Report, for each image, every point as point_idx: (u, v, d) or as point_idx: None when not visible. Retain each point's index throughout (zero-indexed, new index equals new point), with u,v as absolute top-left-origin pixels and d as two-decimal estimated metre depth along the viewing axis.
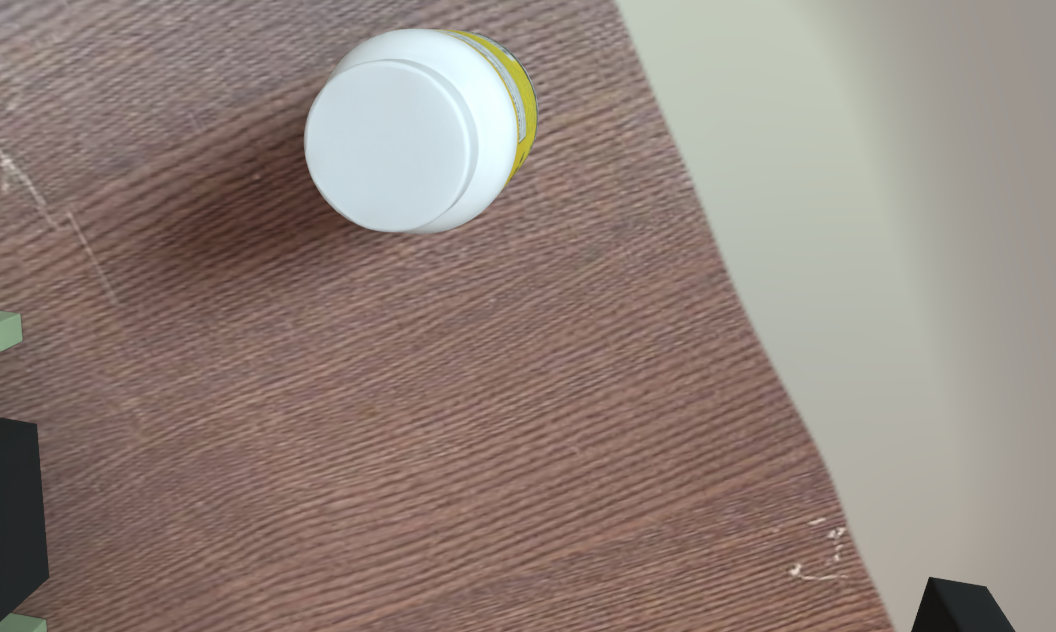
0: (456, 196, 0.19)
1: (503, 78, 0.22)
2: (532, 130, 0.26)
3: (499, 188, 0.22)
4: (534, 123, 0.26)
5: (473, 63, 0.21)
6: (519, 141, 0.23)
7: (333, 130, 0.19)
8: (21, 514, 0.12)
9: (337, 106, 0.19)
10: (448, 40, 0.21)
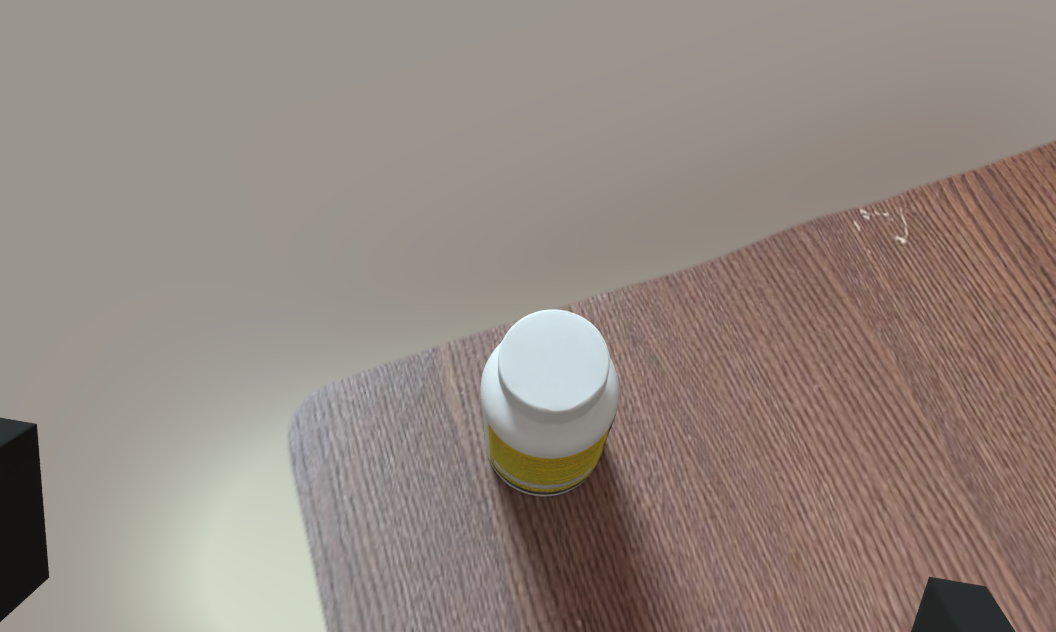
0: (588, 321, 0.30)
1: None
2: None
3: None
4: None
5: None
6: None
7: (538, 389, 0.29)
8: (21, 514, 0.12)
9: (523, 384, 0.29)
10: (492, 353, 0.32)
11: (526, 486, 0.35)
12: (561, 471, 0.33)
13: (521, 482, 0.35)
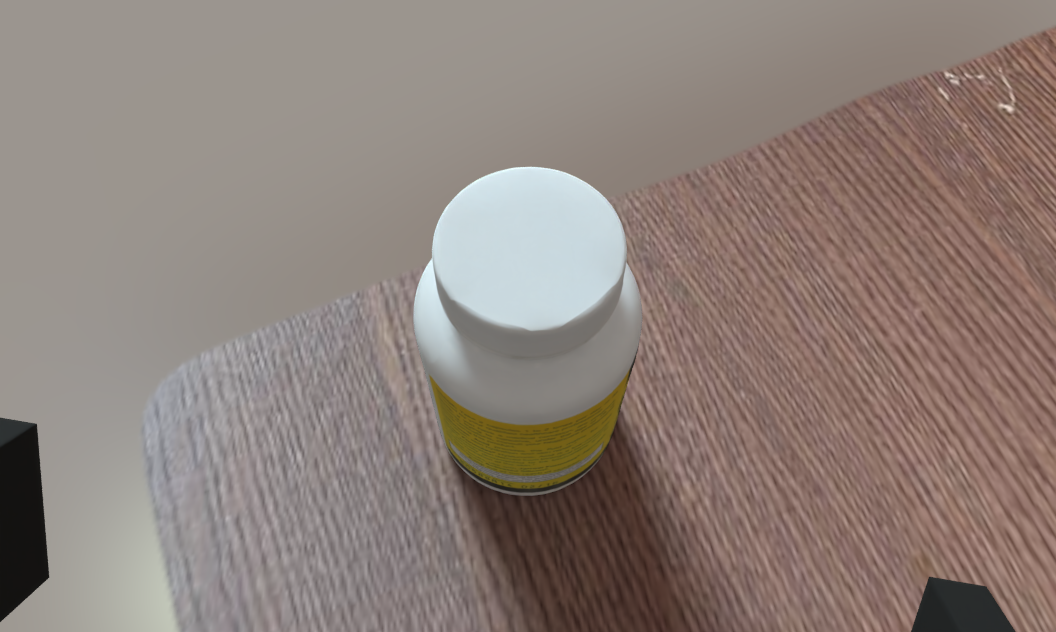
0: (583, 182, 0.18)
1: None
2: None
3: None
4: None
5: None
6: None
7: (505, 295, 0.16)
8: (21, 514, 0.12)
9: (478, 288, 0.16)
10: None
11: (503, 480, 0.23)
12: (555, 449, 0.20)
13: (494, 474, 0.22)
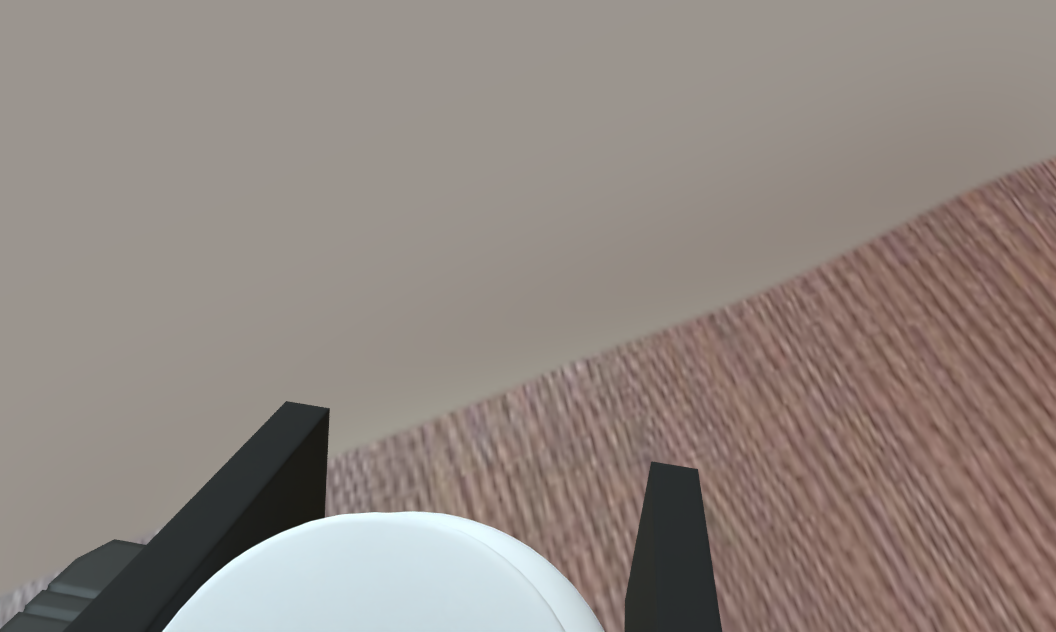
0: (498, 555, 0.07)
1: None
2: None
3: (529, 547, 0.10)
4: None
5: None
6: None
7: None
8: (316, 488, 0.14)
9: None
10: None
11: None
12: None
13: None
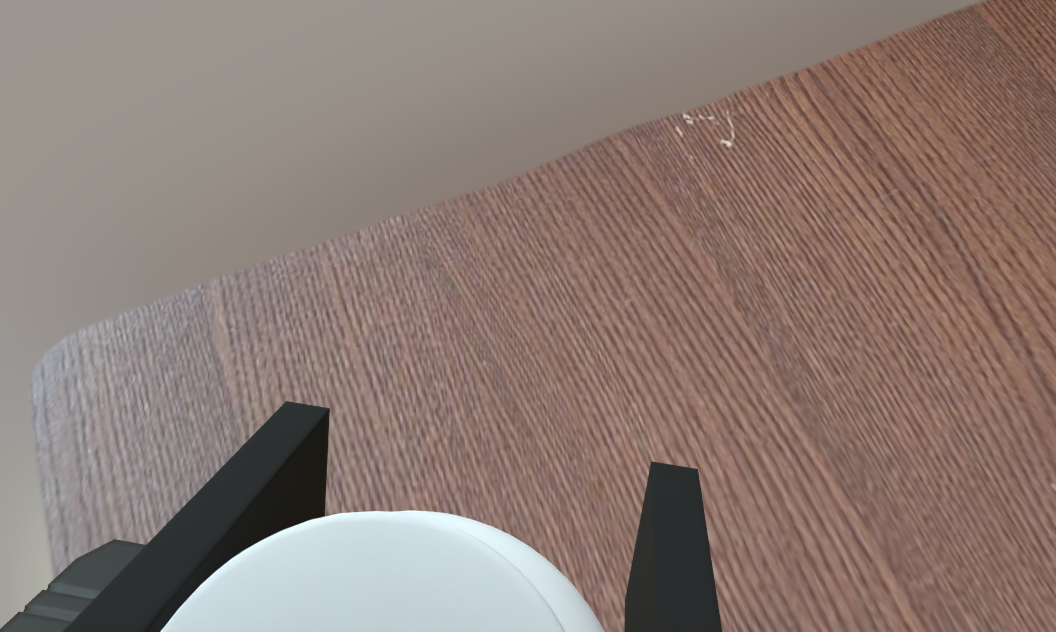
0: (497, 554, 0.07)
1: None
2: None
3: (528, 547, 0.10)
4: None
5: None
6: None
7: None
8: (316, 488, 0.14)
9: None
10: None
11: None
12: None
13: None
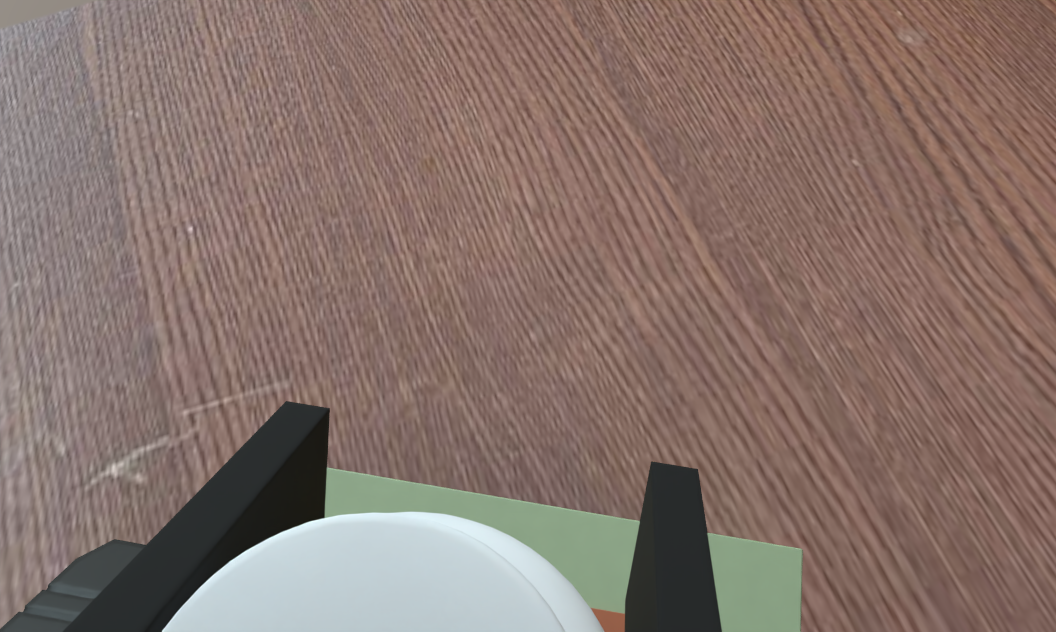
0: (498, 555, 0.07)
1: None
2: None
3: (529, 548, 0.10)
4: None
5: None
6: None
7: None
8: (316, 488, 0.14)
9: None
10: None
11: None
12: None
13: None
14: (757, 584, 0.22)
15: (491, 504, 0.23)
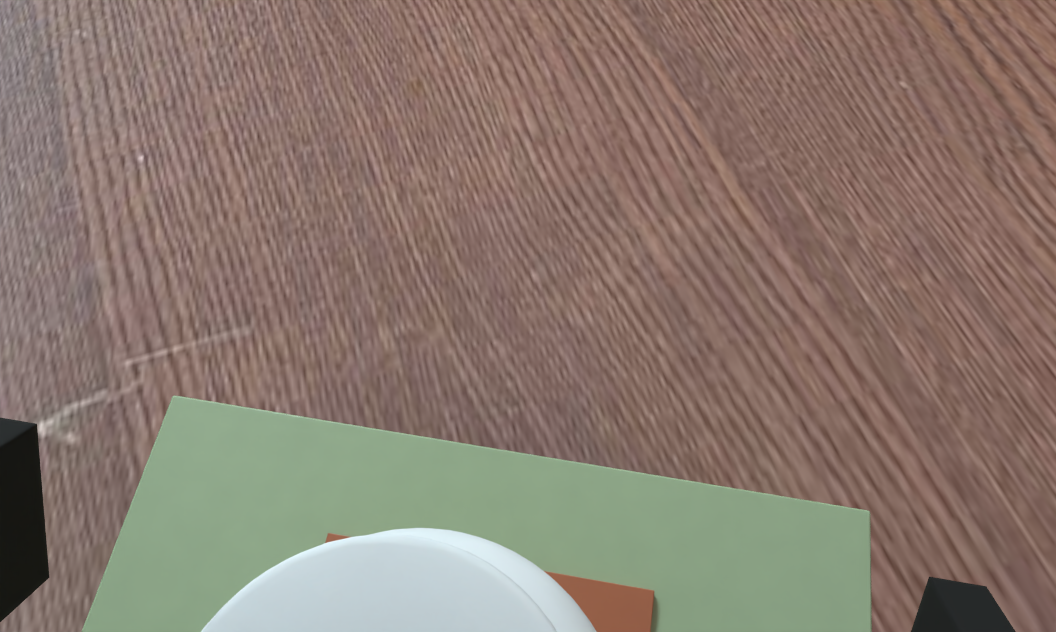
0: (503, 574, 0.08)
1: None
2: None
3: (531, 562, 0.11)
4: None
5: None
6: None
7: None
8: (21, 514, 0.12)
9: None
10: None
11: None
12: None
13: None
14: (815, 554, 0.18)
15: (484, 457, 0.19)
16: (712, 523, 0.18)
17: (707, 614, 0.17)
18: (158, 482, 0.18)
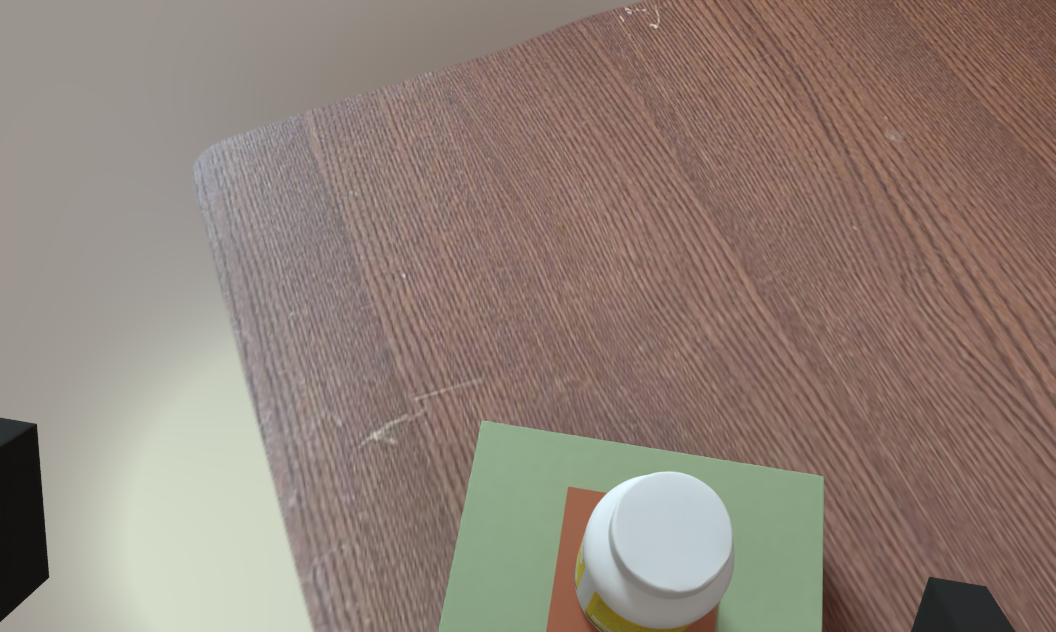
0: None
1: None
2: None
3: None
4: None
5: (609, 495, 0.30)
6: None
7: (660, 567, 0.26)
8: (21, 514, 0.12)
9: (643, 561, 0.27)
10: (593, 513, 0.30)
11: None
12: None
13: None
14: (797, 496, 0.38)
15: (638, 450, 0.39)
16: (749, 481, 0.38)
17: (747, 523, 0.37)
18: (482, 463, 0.38)
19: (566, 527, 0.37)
